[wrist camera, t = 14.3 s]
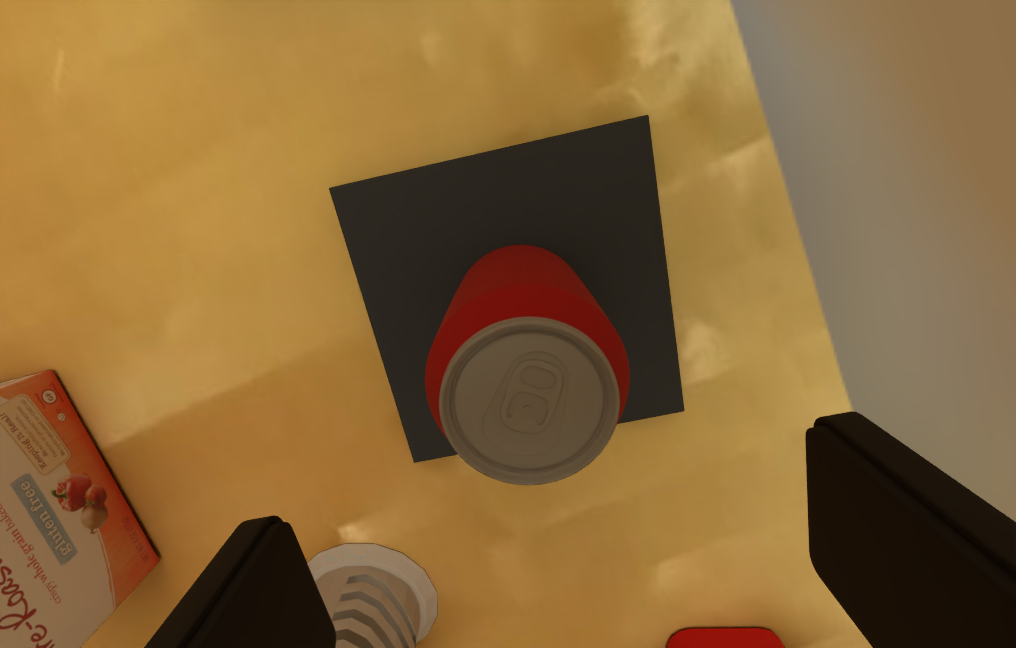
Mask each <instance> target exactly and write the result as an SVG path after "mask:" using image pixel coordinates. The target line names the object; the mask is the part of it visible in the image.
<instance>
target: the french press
mask: <svg viewBox="0 0 1016 648" xmlns="http://www.w3.org/2000/svg"><path fill="white" fill-rule="evenodd" d="M307 564H308V566H309V569H310V571H311V573H312V576H313V578H314V580H315V583H316V585H317V587H318V590H319V592H320V594H321V597H322V599H323V601H324V604H325V606H326V609H327V611H328V613H329V616H330V618H331V620H332V623H333V625H334V627H335V631H336V647H335V648H416V644H417V643H418V642H419V641H420V640H422V639H423V638H424V637H425V636H427V635H428V634H429V631H430V629H431V627H432V625H433V623H434V621H435V619H436V617H437V615H438V609H437V591H436V590H435V588H434V586H433V584H432V583H431V581H430V579H429V577H428V576H427V574H426V572H425V570H423V569H422V568H421V567H420V566H418V565H417V564H416V563H414V562H413V561H412V560H411V559H409V558H408V557H407V556H405V555H404V554H403V553H400V552H397V551H394V550H391V549H388V548H385V547H382V546H379V545H376V544H343V545H340V546H337V547H334V548H331V549H329V550H326V551H323V552H320V553H318V554H317V555H316V556H315V557H314V558H313V559H311V560H310V561H309V562H308V563H307Z"/></svg>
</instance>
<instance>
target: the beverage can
mask: <svg viewBox="0 0 1016 648" xmlns="http://www.w3.org/2000/svg"><path fill="white" fill-rule="evenodd" d="M629 382H630V372H629V363H628V358H627V354H626V351H625V348H624V345H623V343H622V341H621V338H620V337H619V335H618V333H617V331H616V330H615V328H614V327H613V325H612V324H611V322H610V321H609V319H608V318H607V316H606V315H605V313H604V312H603V310H602V309H601V307H600V306H599V304H598V303H597V302H596V300H595V299H594V297H593V296H592V295H591V293H590V292H589V290H588V289H587V288H586V286H585V285H584V284H583V282H582V281H581V280H580V278H579V277H578V276H577V275H576V273H575V272H574V271H573V270H572V268H571V267H570V266H569V265H568V264H567V263H566V262H565V261H564V260H563V259H561V258H560V257H559V256H557V255H556V254H554V253H552V252H550V251H548V250H546V249H543V248H540V247H536V246H531V245H511V246H506V247H502V248H499V249H496V250H494V251H492V252H490V253H488V254H486V255H485V256H483V257H482V258H481V259H479V260H478V261H477V262H476V263H475V264H474V265H473V266H472V267H471V268H470V269H469V271H468V272H467V273H466V275H465V276H464V278H463V280H462V282H461V284H460V286H459V288H458V289H457V291H456V293H455V295H454V297H453V299H452V301H451V303H450V305H449V308H448V310H447V312H446V314H445V316H444V318H443V321H442V323H441V325H440V328H439V330H438V332H437V335H436V337H435V339H434V342H433V344H432V346H431V349H430V352H429V355H428V359H427V363H426V370H425V389H426V396H427V400H428V404H429V407H430V410H431V413H432V415H433V417H434V419H435V421H436V423H437V425H438V427H439V428H440V430H441V431H442V433H443V434H444V435H445V437H446V438H447V439H448V440H449V442H450V444H451V445H452V447H453V448H454V450H455V451H456V452H457V453H458V454H459V456H460V457H461V458H462V459H463V460H464V461H465V462H466V463H468V464H469V465H470V466H471V467H473V468H474V469H476V470H477V471H479V472H480V473H482V474H484V475H486V476H488V477H490V478H493V479H496V480H499V481H502V482H506V483H510V484H517V485H540V484H546V483H551V482H555V481H558V480H561V479H564V478H566V477H569V476H571V475H573V474H575V473H577V472H578V471H580V470H582V469H583V468H584V467H586V466H587V465H589V464H590V463H591V462H592V461H593V460H594V459H595V458H596V457H597V456H598V455H599V454H600V453H601V452H602V450H603V449H604V448H605V446H606V445H607V443H608V442H609V440H610V438H611V436H612V434H613V432H614V430H615V427H616V425H617V423H618V421H619V419H620V417H621V415H622V413H623V410H624V407H625V405H626V401H627V397H628V391H629Z"/></svg>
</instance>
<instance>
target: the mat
mask: <svg viewBox="0 0 1016 648" xmlns="http://www.w3.org/2000/svg"><path fill="white" fill-rule="evenodd" d="M329 190H330V193H331V196H332V200H333V203H334V206H335V209H336V213H337V216H338V219H339V222H340V225H341V229H342V232H343V235H344V238H345V242H346V245H347V248H348V251H349V254H350V258H351V261H352V264H353V267H354V271H355V274H356V277H357V280H358V283H359V287H360V290H361V293H362V296H363V299H364V303H365V306H366V309H367V312H368V316H369V319H370V322H371V325H372V328H373V332H374V335H375V338H376V341H377V345H378V348H379V351H380V354H381V357H382V361H383V364H384V367H385V370H386V374H387V377H388V380H389V383H390V386H391V390H392V393H393V396H394V399H395V403H396V406H397V409H398V412H399V415H400V419H401V422H402V425H403V428H404V431H405V435H406V438H407V441H408V444H409V448H410V451H411V454H412V457H413V460H414V463H415V462H421V461H426V460H431V459H436V458H441V457H447V456H452V455H457V454H458V453H457V452H456V451H455V450H454V448H453V447H452V445H451V444H450V442H449V440H448V439H447V438H446V437H445V435H444V434H443V433H442V431H441V430H440V428H439V427H438V425H437V423H436V421H435V419H434V417H433V415H432V413H431V410H430V407H429V404H428V400H427V396H426V389H425V370H426V363H427V359H428V355H429V352H430V349H431V346H432V344H433V342H434V339H435V337H436V335H437V332H438V330H439V328H440V325H441V323H442V321H443V318H444V316H445V314H446V312H447V310H448V308H449V305H450V303H451V301H452V299H453V297H454V295H455V293H456V291H457V289H458V288H459V286H460V284H461V282H462V280H463V278H464V276H465V275H466V273H467V272H468V271H469V269H470V268H471V267H472V266H473V265H474V264H475V263H476V262H477V261H478V260H479V259H481V258H482V257H483V256H485V255H486V254H488V253H490V252H492V251H494V250H496V249H499V248H502V247H506V246H511V245H531V246H536V247H540V248H543V249H546V250H548V251H550V252H552V253H554V254H556V255H557V256H559V257H560V258H561V259H563V260H564V261H565V262H566V263H567V264H568V265H569V266H570V267H571V268H572V270H573V271H574V272H575V273H576V275H577V276H578V277H579V278H580V280H581V281H582V282H583V284H584V285H585V286H586V288H587V289H588V290H589V292H590V293H591V295H592V296H593V297H594V299H595V300H596V302H597V303H598V304H599V306H600V307H601V309H602V310H603V312H604V313H605V315H606V316H607V318H608V319H609V321H610V322H611V324H612V325H613V327H614V328H615V330H616V331H617V333H618V335H619V337H620V338H621V341H622V343H623V345H624V348H625V351H626V354H627V358H628V363H629V372H630V382H629V391H628V397H627V401H626V405H625V407H624V410H623V413H622V415H621V417H620V419H619V421H618V423H617V424H619V423H625V422H630V421H635V420H640V419H646V418H651V417H656V416H661V415H667V414H672V413H677V412H682V411H684V403H683V395H682V387H681V379H680V370H679V362H678V354H677V346H676V338H675V329H674V321H673V313H672V305H671V296H670V288H669V280H668V272H667V264H666V255H665V247H664V239H663V231H662V223H661V214H660V206H659V198H658V190H657V182H656V173H655V165H654V157H653V149H652V140H651V132H650V124H649V116H648V115H645V116H640V117H636V118H632V119H627V120H623V121H619V122H614V123H610V124H606V125H601V126H597V127H593V128H588V129H584V130H579V131H575V132H571V133H566V134H562V135H558V136H553V137H549V138H545V139H540V140H536V141H532V142H527V143H523V144H518V145H514V146H510V147H505V148H501V149H497V150H492V151H488V152H484V153H479V154H475V155H471V156H466V157H462V158H457V159H453V160H449V161H444V162H440V163H436V164H431V165H427V166H423V167H418V168H414V169H410V170H405V171H401V172H396V173H392V174H388V175H383V176H379V177H375V178H370V179H366V180H362V181H357V182H353V183H349V184H344V185H340V186H335V187H331V188H329Z"/></svg>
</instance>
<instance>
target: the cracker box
mask: <svg viewBox="0 0 1016 648" xmlns="http://www.w3.org/2000/svg"><path fill="white" fill-rule="evenodd" d="M158 562H159V558H158V557H157V555H156V553H155V552H154V550H153V548H152V547H151V545H150V543H149V541H148V539H147V538H146V536H145V534H144V532H143V531H142V529H141V527H140V525H139V524H138V522H137V520H136V518H135V517H134V515H133V513H132V511H131V509H130V508H129V506H128V504H127V502H126V500H125V499H124V497H123V495H122V493H121V491H120V490H119V488H118V486H117V484H116V482H115V481H114V479H113V477H112V475H111V474H110V472H109V470H108V468H107V467H106V465H105V463H104V461H103V459H102V457H101V456H100V454H99V452H98V451H97V449H96V447H95V445H94V443H93V442H92V440H91V438H90V436H89V434H88V433H87V431H86V429H85V427H84V426H83V424H82V422H81V420H80V419H79V417H78V415H77V413H76V411H75V410H74V408H73V406H72V404H71V402H70V400H69V399H68V397H67V395H66V393H65V392H64V390H63V388H62V386H61V384H60V383H59V381H58V379H57V377H56V375H55V374H54V372H53V371H52V370H48V371H44V372H41V373H37V374H33V375H29V376H25V377H21V378H17V379H13V380H9V381H5V382H2V383H0V648H81V647H82V646H83V645H84V644H85V642H86V641H87V640H88V639H89V638H90V637H91V636H92V635H93V634H94V633H95V632H96V630H97V629H98V628H99V627H100V626H101V625H102V624H103V623H104V622H105V621H106V619H107V618H108V617H109V616H110V615H111V614H112V613H113V612H114V611H115V609H116V608H117V607H118V606H119V605H120V604H121V603H122V602H123V601H124V600H125V599H126V598H127V596H128V595H129V594H130V593H131V592H132V591H133V590H134V589H135V588H136V586H137V585H138V584H139V583H140V582H141V581H142V580H143V579H144V578H145V576H146V575H147V574H148V573H149V572H150V571H151V570H152V569H153V568H154V567H155V566H156V565H157V563H158Z"/></svg>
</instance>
